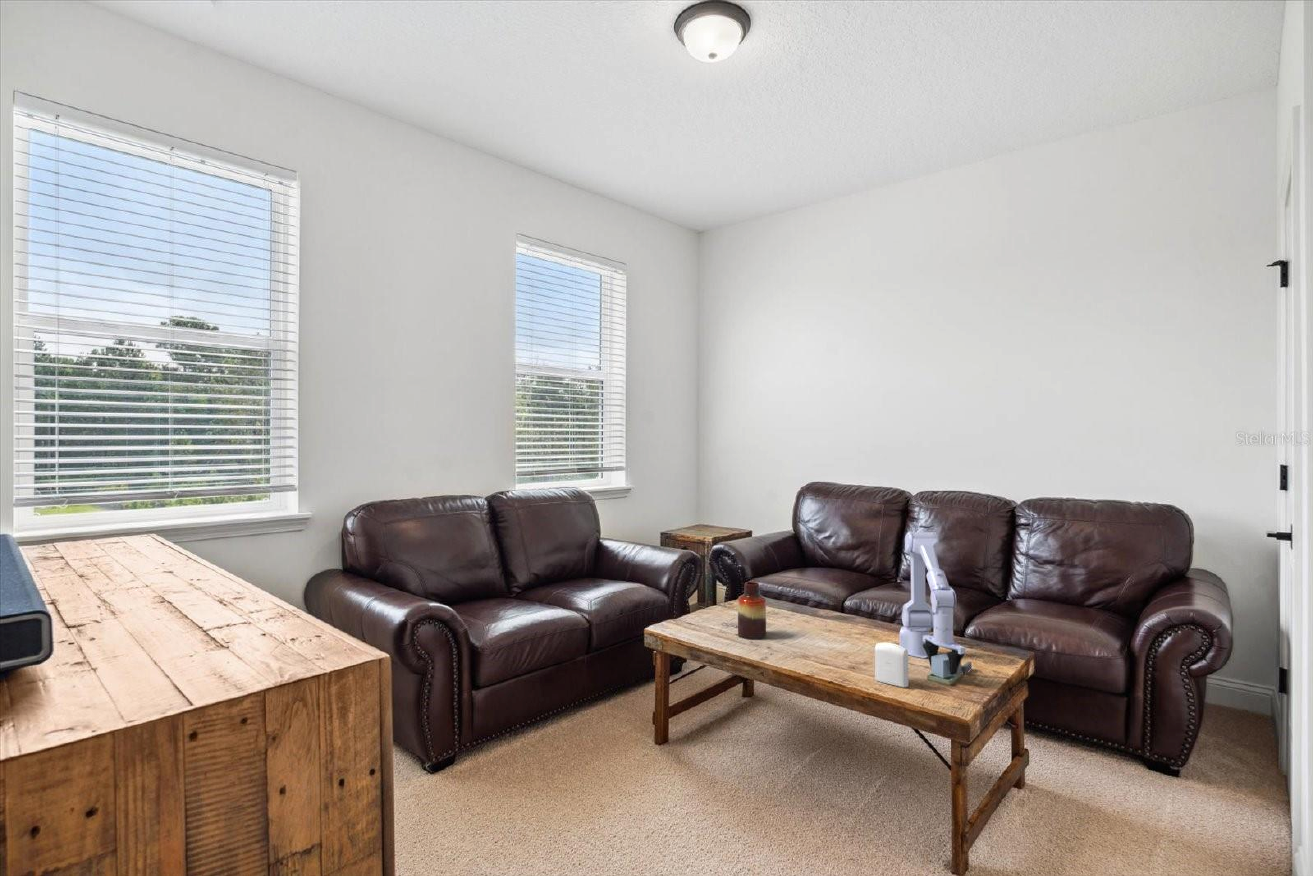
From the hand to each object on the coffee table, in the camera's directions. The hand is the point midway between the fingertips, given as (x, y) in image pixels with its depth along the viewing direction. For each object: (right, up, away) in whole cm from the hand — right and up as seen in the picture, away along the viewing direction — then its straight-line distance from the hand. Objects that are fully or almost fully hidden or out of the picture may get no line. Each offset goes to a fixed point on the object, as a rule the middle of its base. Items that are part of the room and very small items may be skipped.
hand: (943, 670), depth 209 cm
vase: (-54, -3, +46) cm, 71 cm away
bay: (+8, -3, +9) cm, 12 cm away
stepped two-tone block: (+2, -1, +1) cm, 2 cm away
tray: (+1, -3, +1) cm, 3 cm away
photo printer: (-18, -3, -3) cm, 18 cm away
